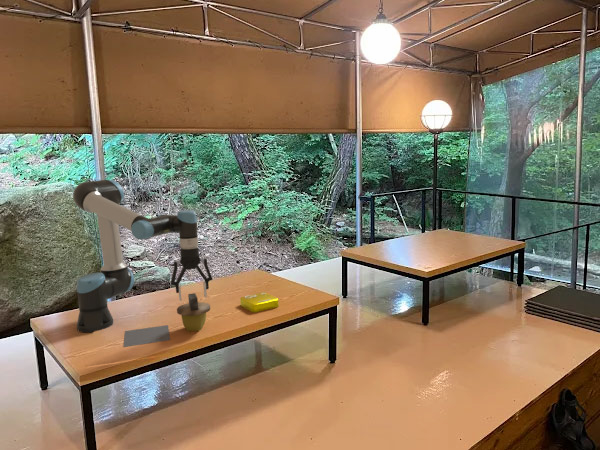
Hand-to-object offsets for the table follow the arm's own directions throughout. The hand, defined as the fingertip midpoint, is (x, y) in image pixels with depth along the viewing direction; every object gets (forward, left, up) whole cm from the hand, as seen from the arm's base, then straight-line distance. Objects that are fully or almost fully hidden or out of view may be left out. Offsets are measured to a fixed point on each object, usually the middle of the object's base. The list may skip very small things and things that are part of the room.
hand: (193, 298), depth 203 cm
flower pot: (0, 0, -14) cm, 14 cm away
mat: (-20, 0, -14) cm, 25 cm away
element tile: (+33, +20, -15) cm, 41 cm away
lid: (0, 0, -5) cm, 5 cm away
